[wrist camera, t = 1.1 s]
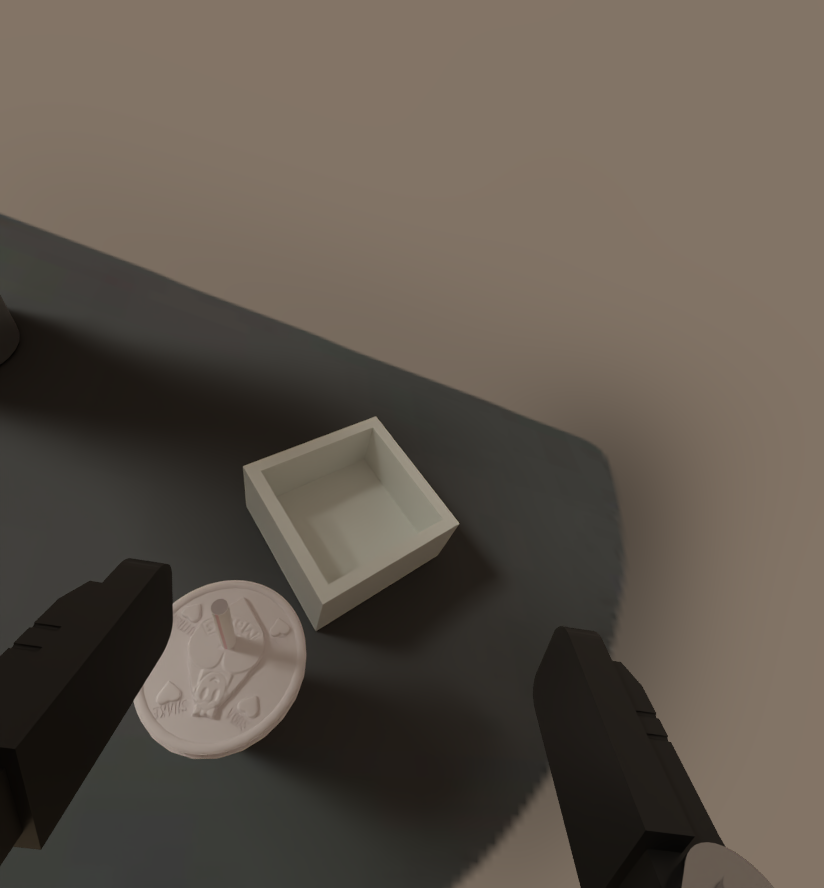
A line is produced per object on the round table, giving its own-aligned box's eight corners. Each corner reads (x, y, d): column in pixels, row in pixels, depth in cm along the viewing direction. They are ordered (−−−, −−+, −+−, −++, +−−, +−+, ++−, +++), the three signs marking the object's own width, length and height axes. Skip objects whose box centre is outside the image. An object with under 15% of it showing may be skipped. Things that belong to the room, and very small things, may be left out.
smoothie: (309, 649, 27) (333, 551, 17) (278, 780, 23) (286, 760, 13) (201, 630, 27) (154, 516, 16) (150, 762, 22) (41, 726, 12)
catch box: (246, 506, 32) (243, 466, 28) (365, 455, 37) (376, 416, 33) (315, 631, 28) (322, 604, 24) (437, 555, 33) (459, 523, 29)
